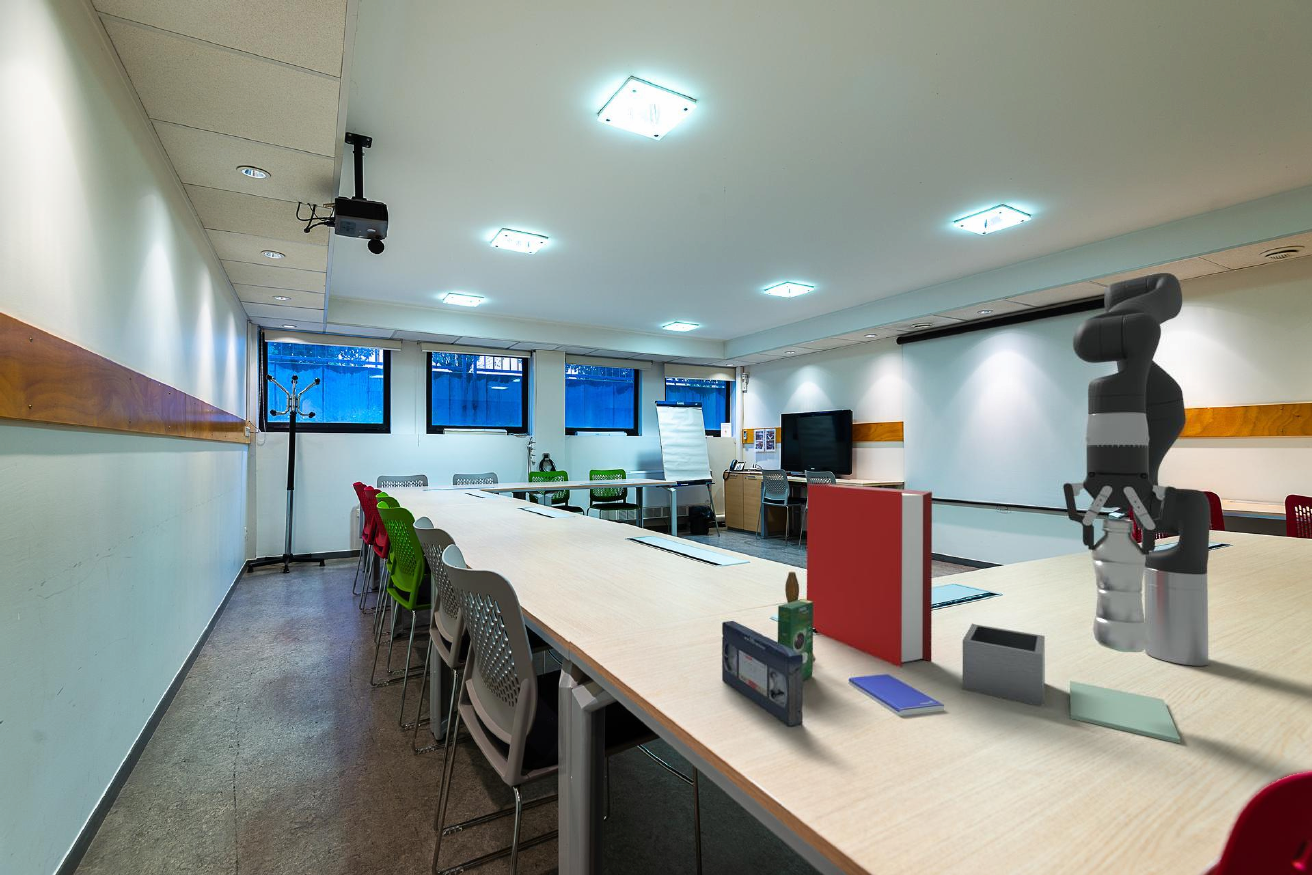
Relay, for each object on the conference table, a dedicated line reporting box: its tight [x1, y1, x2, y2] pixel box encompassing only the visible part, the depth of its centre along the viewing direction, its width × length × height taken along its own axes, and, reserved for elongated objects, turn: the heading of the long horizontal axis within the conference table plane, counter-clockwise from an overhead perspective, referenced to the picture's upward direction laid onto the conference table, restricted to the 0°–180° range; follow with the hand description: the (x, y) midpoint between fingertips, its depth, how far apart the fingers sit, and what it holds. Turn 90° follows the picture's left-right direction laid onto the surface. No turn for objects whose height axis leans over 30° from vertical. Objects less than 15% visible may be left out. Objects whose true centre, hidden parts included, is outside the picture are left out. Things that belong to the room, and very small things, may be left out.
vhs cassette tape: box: [721, 620, 804, 728], centre depth 88 cm, size 18×3×10 cm, turn 23°
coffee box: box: [777, 598, 814, 681], centre depth 97 cm, size 8×3×13 cm, turn 137°
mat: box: [1069, 680, 1181, 744], centre depth 87 cm, size 16×12×1 cm
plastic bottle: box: [1091, 518, 1149, 653], centre depth 88 cm, size 6×7×20 cm
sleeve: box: [962, 623, 1046, 708], centre depth 96 cm, size 12×11×8 cm
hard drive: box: [848, 673, 945, 717], centre depth 91 cm, size 2×8×12 cm
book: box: [806, 483, 933, 668], centre depth 118 cm, size 27×8×32 cm, turn 25°
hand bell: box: [784, 571, 816, 661], centre depth 109 cm, size 8×8×16 cm
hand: (1117, 551), depth 88 cm, fingers closed on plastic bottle, 6 cm apart
